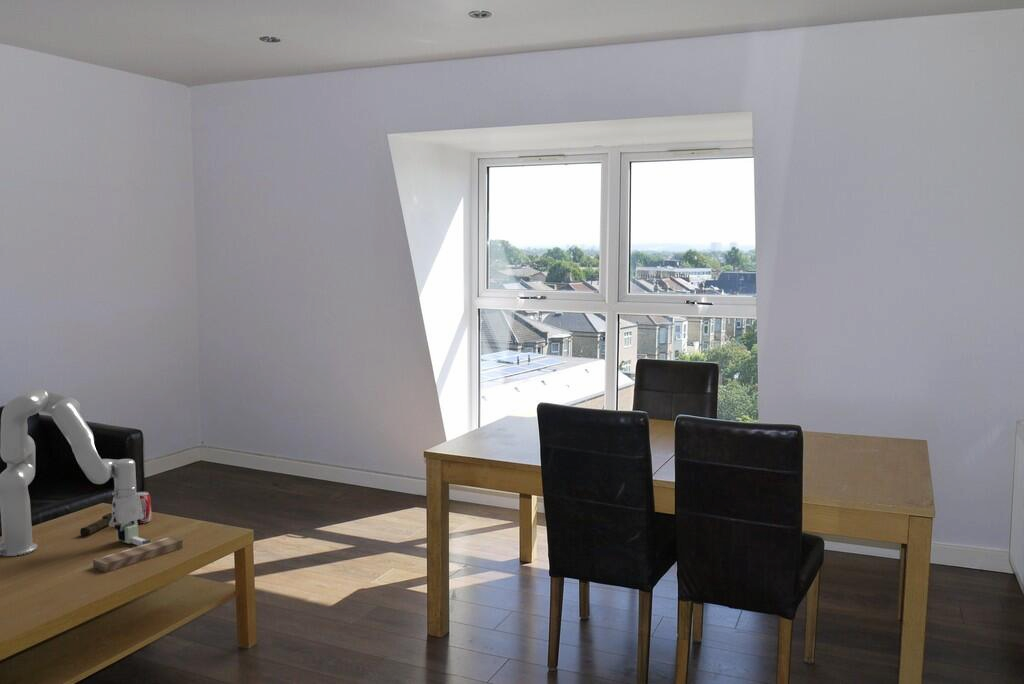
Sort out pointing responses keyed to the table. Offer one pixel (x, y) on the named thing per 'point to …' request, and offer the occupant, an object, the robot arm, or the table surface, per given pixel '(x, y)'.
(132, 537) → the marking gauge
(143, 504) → the soda can
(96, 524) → the hand tool
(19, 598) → the table surface
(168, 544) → the walnut plank
